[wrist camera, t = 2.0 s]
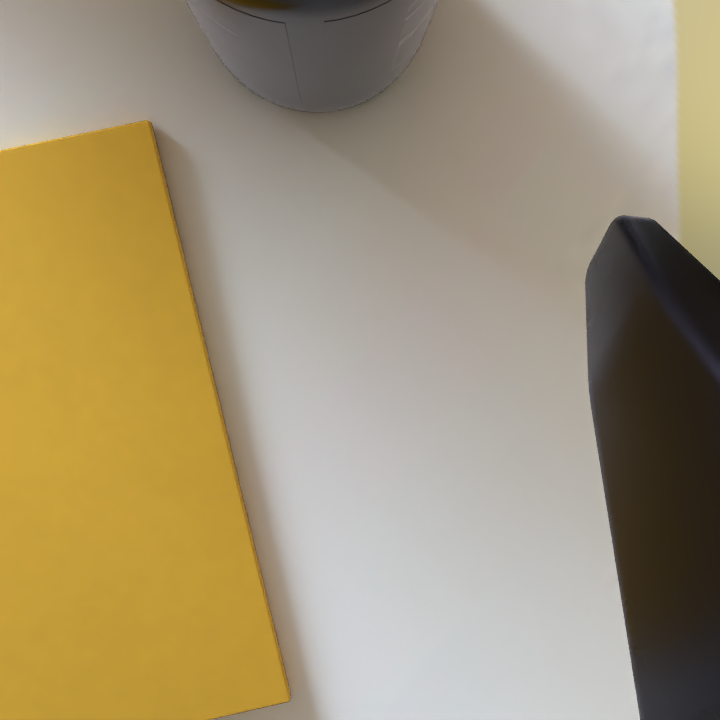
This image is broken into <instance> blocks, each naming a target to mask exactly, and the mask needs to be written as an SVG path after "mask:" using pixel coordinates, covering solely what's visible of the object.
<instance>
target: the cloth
mask: <svg viewBox="0 0 720 720" xmlns="http://www.w3.org/2000/svg"><path fill="white" fill-rule="evenodd" d="M290 695H291V694H290V690H289V686H288V682H287V678H286V673H285V669H284V665H283V661H282V657H281V653H280V649H279V645H278V641H277V636H276V632H275V628H274V624H273V620H272V616H271V612H270V608H269V604H268V599H267V595H266V591H265V587H264V583H263V579H262V575H261V571H260V567H259V562H258V558H257V554H256V550H255V546H254V542H253V538H252V534H251V530H250V525H249V521H248V517H247V513H246V509H245V505H244V501H243V497H242V493H241V489H240V484H239V480H238V476H237V472H236V468H235V464H234V460H233V456H232V452H231V447H230V443H229V439H228V435H227V431H226V427H225V423H224V419H223V415H222V410H221V406H220V402H219V398H218V394H217V390H216V386H215V382H214V378H213V373H212V369H211V365H210V361H209V357H208V353H207V349H206V345H205V341H204V336H203V332H202V328H201V324H200V320H199V316H198V312H197V308H196V304H195V299H194V295H193V291H192V287H191V283H190V279H189V275H188V271H187V267H186V263H185V258H184V254H183V250H182V246H181V242H180V238H179V234H178V230H177V226H176V221H175V217H174V213H173V209H172V205H171V201H170V197H169V193H168V189H167V184H166V180H165V176H164V172H163V168H162V164H161V160H160V156H159V152H158V147H157V143H156V139H155V135H154V131H153V127H152V123H151V122H150V121H148V120H145V121H141V122H136V123H131V124H126V125H121V126H116V127H112V128H107V129H102V130H97V131H92V132H87V133H82V134H78V135H73V136H68V137H63V138H58V139H53V140H49V141H44V142H39V143H34V144H29V145H24V146H19V147H15V148H10V149H5V150H0V720H210V719H215V718H219V717H223V716H228V715H232V714H237V713H241V712H245V711H250V710H254V709H259V708H263V707H268V706H272V705H276V704H281V703H285V702H289V701H290Z"/></svg>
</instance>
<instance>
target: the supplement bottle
mask: <svg viewBox="0 0 720 720" xmlns="http://www.w3.org/2000/svg"><path fill="white" fill-rule="evenodd" d="M185 1H186V2H187V4H188V6H189V8H190V9H191V11H192V13H193V15H194V16H195V18H196V20H197V22H198V24H199V25H200V27H201V29H202V31H203V32H204V34H205V36H206V38H207V39H208V41H209V43H210V44H211V46H212V48H213V49H214V51H215V52H216V54H217V55H218V57H219V58H220V60H221V61H222V62H223V64H224V65H225V66H226V68H227V69H228V70H229V71H230V72H231V73H232V74H233V75H234V76H235V77H236V78H237V79H238V80H239V81H240V82H241V83H242V84H243V85H244V86H246V87H247V88H248V89H250V90H251V91H252V92H254V93H255V94H257V95H258V96H260V97H262V98H264V99H266V100H268V101H270V102H272V103H274V104H277V105H279V106H282V107H285V108H289V109H293V110H298V111H304V112H330V111H337V110H341V109H345V108H349V107H352V106H355V105H358V104H360V103H362V102H364V101H366V100H369V99H370V98H372V97H374V96H375V95H377V94H379V93H380V92H381V91H383V90H384V89H385V88H387V87H388V86H389V85H390V84H391V83H392V82H393V81H394V80H396V79H397V78H398V76H399V75H400V74H401V73H402V72H403V71H404V70H405V68H406V67H407V65H408V64H409V63H410V61H411V60H412V58H413V57H414V55H415V53H416V52H417V50H418V48H419V46H420V44H421V42H422V40H423V37H424V35H425V33H426V30H427V28H428V25H429V23H430V20H431V17H432V14H433V12H434V9H435V6H436V3H437V1H438V0H185Z"/></svg>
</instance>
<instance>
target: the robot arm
mask: <svg viewBox="0 0 720 720" xmlns="http://www.w3.org/2000/svg"><path fill="white" fill-rule="evenodd" d="M585 290H586V323H587V357H588V382H589V394H590V402H591V409H592V416H593V422H594V428H595V435H596V441H597V447H598V454H599V460H600V466H601V473H602V479H603V485H604V492H605V498H606V505H607V511H608V517H609V524H610V530H611V536H612V543H613V549H614V555H615V562H616V568H617V574H618V581H619V587H620V593H621V600H622V606H623V612H624V619H625V625H626V631H627V638H628V644H629V650H630V657H631V663H632V670H633V676H634V682H635V689H636V695H637V701H638V708H639V714H640V720H720V280H718V279H717V278H716V277H715V276H714V275H713V274H712V273H711V272H710V271H709V270H708V269H707V268H706V267H704V266H703V265H702V264H701V263H700V262H699V261H698V260H697V259H696V258H695V257H694V256H692V254H690V253H689V252H688V251H687V250H686V249H685V248H684V247H683V246H682V245H681V244H680V243H679V242H678V241H676V240H675V239H674V238H673V237H672V236H671V235H670V234H669V233H668V232H667V231H666V230H665V229H664V228H662V227H661V226H660V225H659V224H658V223H657V222H656V221H655V220H653V219H650V218H643V217H634V216H626V215H622V216H619V217H617V218H615V219H614V220H613V222H612V223H611V224H610V226H609V228H608V230H607V232H606V234H605V236H604V237H603V239H602V241H601V243H600V245H599V247H598V249H597V251H596V253H595V255H594V257H593V259H592V260H591V262H590V265H589V267H588V270H587V274H586V281H585Z"/></svg>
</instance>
